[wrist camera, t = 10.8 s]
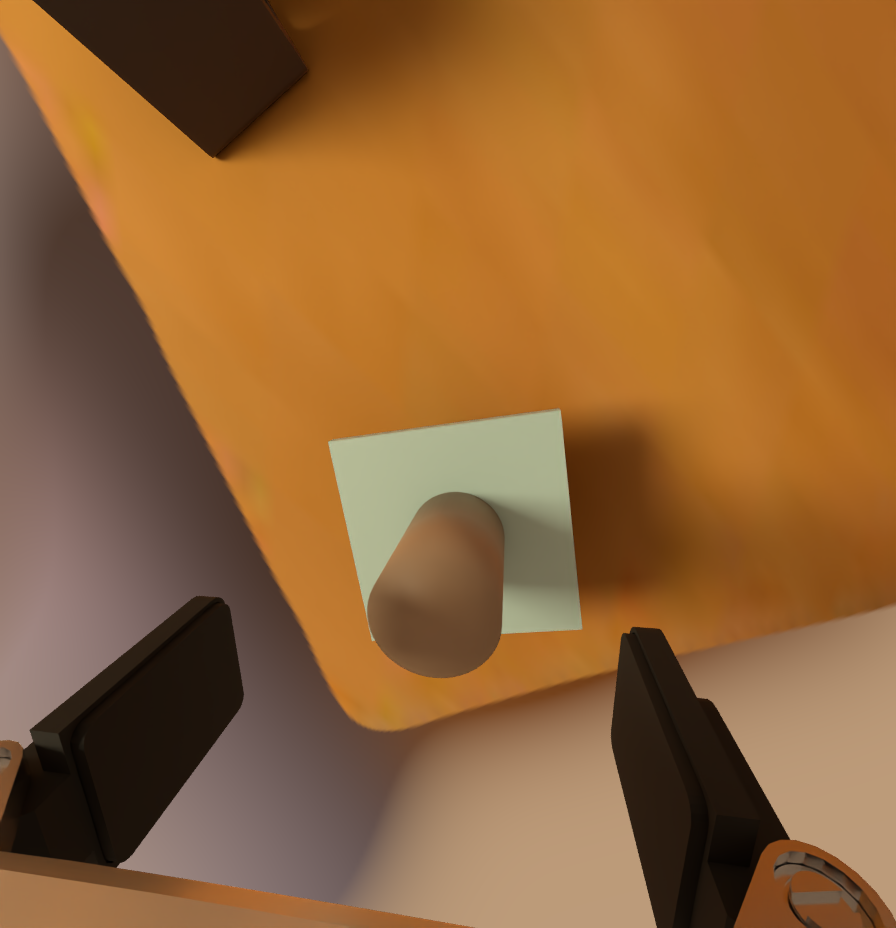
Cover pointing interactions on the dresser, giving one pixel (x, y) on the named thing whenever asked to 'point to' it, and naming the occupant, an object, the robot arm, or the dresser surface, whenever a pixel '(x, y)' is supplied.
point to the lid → (460, 536)
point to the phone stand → (190, 57)
